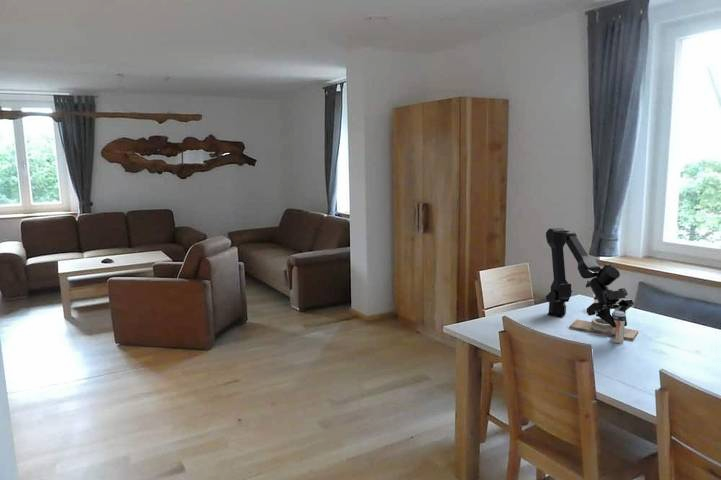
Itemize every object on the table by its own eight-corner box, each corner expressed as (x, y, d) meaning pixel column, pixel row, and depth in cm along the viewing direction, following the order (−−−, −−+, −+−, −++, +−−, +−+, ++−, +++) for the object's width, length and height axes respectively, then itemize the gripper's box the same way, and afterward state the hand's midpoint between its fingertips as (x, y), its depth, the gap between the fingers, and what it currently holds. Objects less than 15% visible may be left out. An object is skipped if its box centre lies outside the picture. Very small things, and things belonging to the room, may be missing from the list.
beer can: (607, 339, 202) (609, 310, 200) (618, 339, 202) (621, 309, 200) (614, 344, 197) (616, 314, 195) (626, 343, 197) (628, 313, 195)
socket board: (569, 328, 214) (569, 319, 214) (576, 321, 223) (577, 312, 222) (633, 340, 200) (633, 331, 199) (638, 332, 209) (639, 323, 208)
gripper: (593, 283, 196) (613, 319, 188) (632, 279, 202) (653, 314, 194) (578, 297, 205) (596, 332, 197) (615, 293, 211) (634, 327, 202)
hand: (620, 326), depth 197 cm, fingers closed on beer can, 5 cm apart
